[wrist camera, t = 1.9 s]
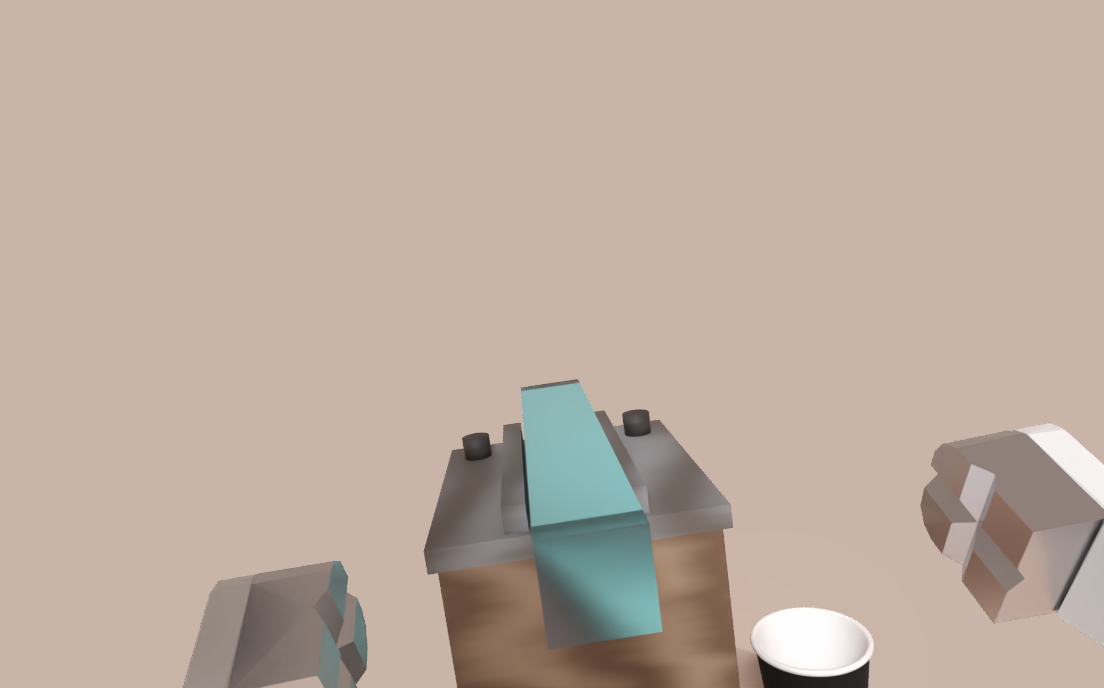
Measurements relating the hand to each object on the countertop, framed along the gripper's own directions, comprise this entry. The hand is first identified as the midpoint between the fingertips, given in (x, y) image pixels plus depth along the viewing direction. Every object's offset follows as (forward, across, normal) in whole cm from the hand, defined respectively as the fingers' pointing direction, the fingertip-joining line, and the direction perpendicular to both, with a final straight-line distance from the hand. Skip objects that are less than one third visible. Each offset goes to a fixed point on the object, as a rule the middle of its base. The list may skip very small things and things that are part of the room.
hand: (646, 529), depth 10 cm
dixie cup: (+14, -15, +48) cm, 53 cm away
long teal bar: (+19, -1, +21) cm, 29 cm away
